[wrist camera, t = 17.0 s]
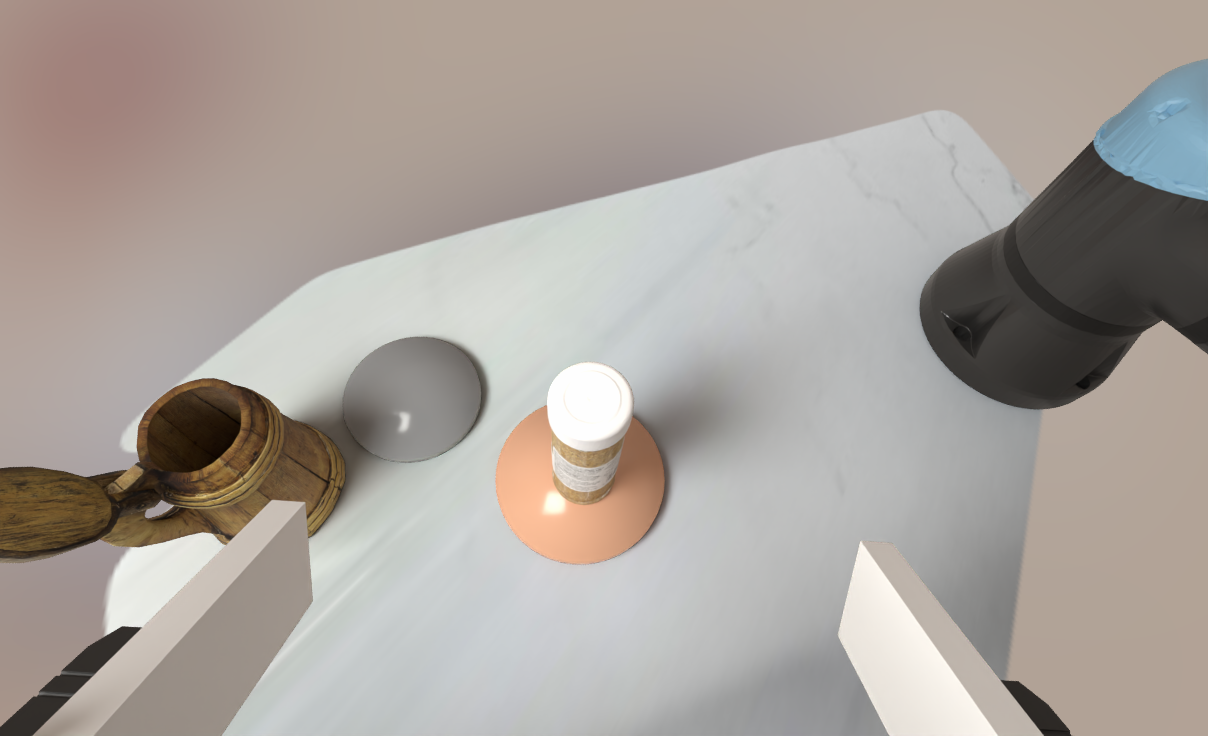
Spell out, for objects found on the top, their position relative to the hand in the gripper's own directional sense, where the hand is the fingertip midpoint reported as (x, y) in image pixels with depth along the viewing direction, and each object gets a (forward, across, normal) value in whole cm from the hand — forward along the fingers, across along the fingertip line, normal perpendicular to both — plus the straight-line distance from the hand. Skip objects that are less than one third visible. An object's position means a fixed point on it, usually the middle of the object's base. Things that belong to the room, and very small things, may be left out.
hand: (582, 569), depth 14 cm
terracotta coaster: (+27, 0, -12) cm, 30 cm away
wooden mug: (+24, -22, -15) cm, 36 cm away
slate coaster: (+31, -13, -8) cm, 34 cm away
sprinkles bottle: (+27, 0, -12) cm, 29 cm away
